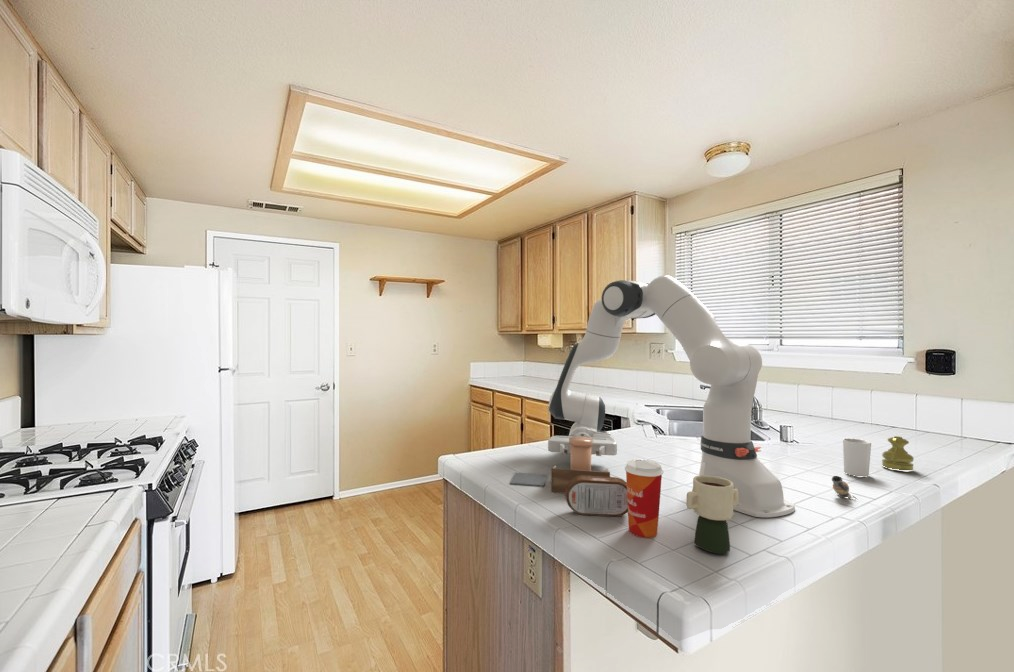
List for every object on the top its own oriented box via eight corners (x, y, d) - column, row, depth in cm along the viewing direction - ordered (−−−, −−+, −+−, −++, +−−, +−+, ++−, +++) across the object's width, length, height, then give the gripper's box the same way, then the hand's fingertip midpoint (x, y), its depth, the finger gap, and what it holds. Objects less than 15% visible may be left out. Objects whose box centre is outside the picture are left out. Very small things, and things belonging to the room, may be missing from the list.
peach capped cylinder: (597, 485, 121) (598, 440, 121) (577, 489, 118) (577, 443, 118) (583, 478, 127) (584, 435, 127) (564, 481, 124) (564, 437, 124)
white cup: (874, 479, 129) (875, 444, 129) (847, 476, 132) (847, 442, 131) (864, 472, 136) (865, 439, 136) (838, 469, 138) (839, 437, 138)
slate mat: (515, 473, 130) (515, 472, 130) (546, 476, 129) (546, 474, 129) (510, 484, 121) (510, 482, 121) (543, 486, 120) (543, 485, 120)
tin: (631, 513, 103) (632, 476, 103) (634, 519, 100) (634, 481, 100) (564, 510, 104) (565, 473, 104) (565, 515, 101) (565, 478, 101)
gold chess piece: (910, 468, 141) (911, 436, 141) (916, 474, 134) (916, 440, 134) (880, 464, 145) (880, 433, 144) (884, 470, 138) (884, 437, 138)
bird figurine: (842, 503, 111) (842, 480, 110) (822, 496, 116) (822, 473, 115) (858, 501, 112) (858, 478, 112) (837, 494, 117) (838, 472, 117)
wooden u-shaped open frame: (553, 479, 125) (554, 458, 125) (607, 483, 123) (608, 461, 123) (551, 492, 116) (551, 468, 116) (609, 496, 113) (610, 472, 113)
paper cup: (618, 524, 97) (619, 458, 97) (653, 523, 98) (654, 458, 97) (631, 541, 89) (632, 470, 89) (669, 540, 90) (670, 469, 90)
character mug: (724, 538, 91) (725, 473, 91) (750, 555, 84) (751, 485, 84) (675, 542, 89) (676, 476, 89) (697, 560, 82) (699, 489, 82)
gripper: (549, 429, 144) (545, 439, 130) (615, 432, 140) (618, 442, 127) (549, 449, 144) (545, 461, 131) (615, 452, 141) (618, 465, 127)
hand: (581, 452), depth 129 cm, fingers open, 8 cm apart
